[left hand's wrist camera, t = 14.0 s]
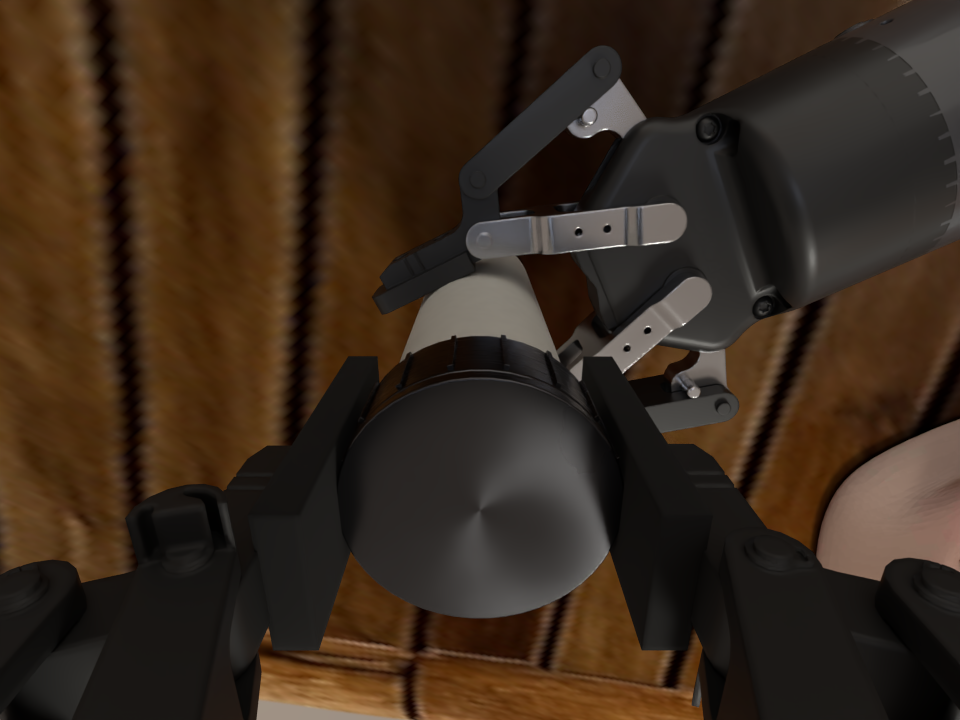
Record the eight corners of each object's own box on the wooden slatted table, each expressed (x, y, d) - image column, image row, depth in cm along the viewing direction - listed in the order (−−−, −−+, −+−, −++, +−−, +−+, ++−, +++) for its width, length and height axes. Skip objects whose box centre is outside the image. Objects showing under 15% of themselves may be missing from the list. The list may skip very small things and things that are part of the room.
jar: (485, 219, 25) (494, 330, 10) (549, 296, 26) (647, 500, 11) (409, 285, 26) (310, 478, 11) (474, 356, 27) (468, 616, 12)
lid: (325, 357, 11) (290, 404, 9) (586, 308, 11) (611, 346, 9) (392, 560, 13) (375, 638, 11) (614, 524, 13) (641, 598, 11)
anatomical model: (866, 673, 29) (842, 510, 26) (823, 614, 33) (796, 464, 29) (1130, 609, 28) (1147, 424, 24) (1053, 555, 31) (1058, 387, 28)
